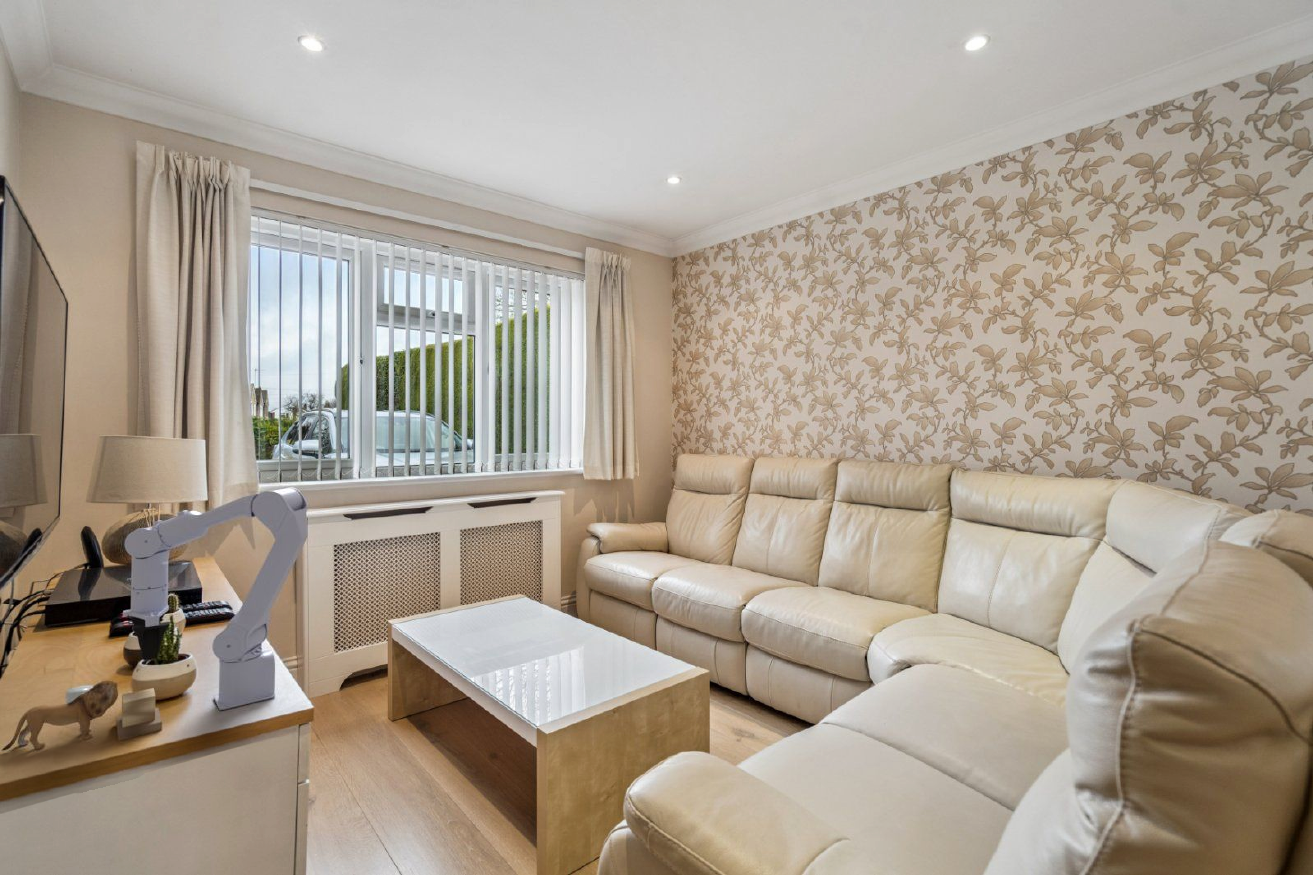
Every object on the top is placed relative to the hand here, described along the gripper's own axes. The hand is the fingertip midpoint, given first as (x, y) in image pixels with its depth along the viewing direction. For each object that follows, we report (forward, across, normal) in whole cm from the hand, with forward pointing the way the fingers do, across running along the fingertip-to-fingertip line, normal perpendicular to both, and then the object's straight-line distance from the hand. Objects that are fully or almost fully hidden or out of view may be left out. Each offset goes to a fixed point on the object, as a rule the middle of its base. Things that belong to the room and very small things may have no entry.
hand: (148, 653), depth 122 cm
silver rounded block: (+10, -8, -10) cm, 16 cm away
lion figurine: (+10, +9, -12) cm, 18 cm away
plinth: (+10, +12, -2) cm, 16 cm away
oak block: (+8, +12, -2) cm, 15 cm away
